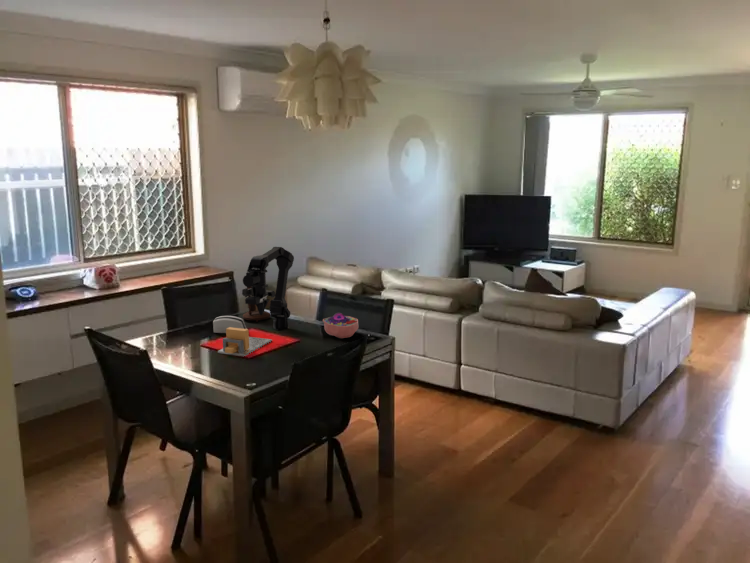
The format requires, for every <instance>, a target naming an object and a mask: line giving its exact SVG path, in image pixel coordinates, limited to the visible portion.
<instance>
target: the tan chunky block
mask: <svg viewBox="0 0 750 563" xmlns="http://www.w3.org/2000/svg"><path fill="white" fill-rule="evenodd" d="M249 332H250V330H249V329H248V328H247V329H241V328H233V327H229V328H227V329H226V333H225V334H226V337H225V338H233V339H241V340H243V344H244V350H247V349H249V337H250V335H249V334H250V333H249ZM228 344H229V346H228V347H226V348H225V353H234V352H236V351H238V343H232V342H228Z"/></svg>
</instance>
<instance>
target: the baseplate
mask: <svg viewBox="0 0 750 563" xmlns="http://www.w3.org/2000/svg"><path fill="white" fill-rule="evenodd" d="M271 341H272V342H273V339H271V338H261V337H254V336H249V349H247V350H244V344H243V340H241V339H233V338H226V337H224V338H222V348H221V349H219V350H217V354H223V355H230V356H237V357H244V356H245V357H247V356H248V355H250V354H251V352H252V353H253V351H254V352H255V350H256V349H257V350H259V349H261V348H263V347H264V346H263V345H265V344H266V345H268V344H270V343H272V342H271ZM228 342H232V343H238V351H236V352H234V353H225V348H226V347H228V346H229V344H228ZM269 342H270V343H269ZM267 343H268V344H267ZM266 345H265V346H266ZM262 346H263V347H262ZM260 347H261V348H260ZM258 348H259V349H258ZM257 350H256V351H257ZM249 353H250V354H249Z"/></svg>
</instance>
